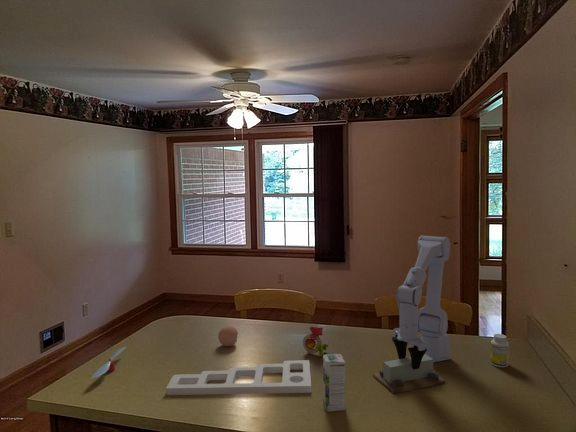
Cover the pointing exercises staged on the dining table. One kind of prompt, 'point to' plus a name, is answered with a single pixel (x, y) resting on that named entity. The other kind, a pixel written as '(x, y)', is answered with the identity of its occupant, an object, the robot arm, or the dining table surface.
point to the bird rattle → (311, 343)
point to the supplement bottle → (500, 351)
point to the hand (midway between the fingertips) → (408, 363)
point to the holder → (198, 383)
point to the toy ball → (228, 336)
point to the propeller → (107, 365)
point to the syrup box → (333, 382)
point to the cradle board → (409, 382)
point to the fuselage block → (406, 369)
